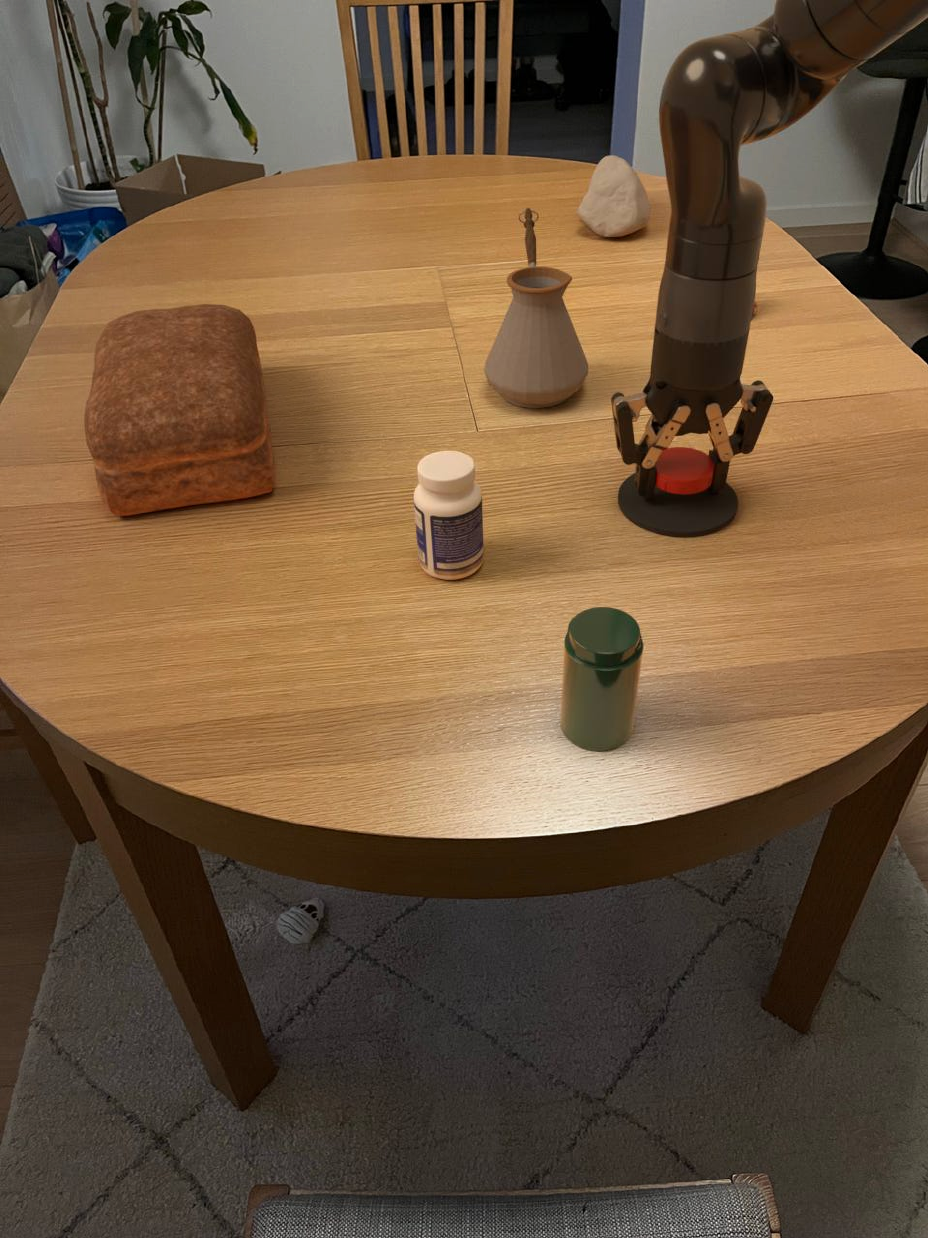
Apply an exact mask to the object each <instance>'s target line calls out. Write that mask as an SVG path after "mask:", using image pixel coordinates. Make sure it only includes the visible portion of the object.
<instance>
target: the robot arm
mask: <svg viewBox="0 0 928 1238" xmlns="http://www.w3.org/2000/svg"><path fill="white" fill-rule="evenodd" d="M774 3H775V4H774V9H773V13H772V14H771V15H770V16H768V17H766V19H763V20H762V21H761V22H759V23H758V24H756V25H754V26H753V27H750V28H746V29H742V30H738V31H733V32H729V33H725V34H724V33H723V34H719V35H714V36H709V37H706V38H701V39H698V40H696V41H694V42H692V43H690V44H689V45H687V46H686V47H685V48H683V49H682V51H681V52H680V53H679V54H678V55H677V56H676V58H675V59H674V60H673V62H672V64H671V66H670V67H669V70H668V72H667V75H666V77H665V80H664V83H663V86H662V90H661V94H660V97H659V98H660V100H659V106H658V108H659V109H658V115H659V116H658V122H659V124H658V125H659V133H660V141H661V148H662V155H663V163H664V170H665V178H666V179H665V180H666V185H667V190H668V197H669V201H670V210H671V211H670V219H669V224H668V225H669V226H668V233H667V241H666V251H665V261H664V266H663V272H662V275H661V278H660V279H661V280H660V284H659V288H658V289H659V290H658V295H657V304H656V315H655V323H654V333H653V343H652V350H651V351H652V353H651V361H650V369H649V371H650V372H649V379H648V381H647V382H646V385H644V388H643V389H642V391H641V392H637V393H633V394H629V395H626V396H625V394H624V393H622V392H620V391H619V392H615V393H613V394H612V396H611V397H610V403H611V410H612V418H613V420H612V421H613V427H614V435H615V443H616V444H615V445H616V448H617V450H618V452H619V454H620V456H621V459H622V462H623V464H625V465H628V466H630V465H633V464H635V472H634V473H635V482H634V484H635V487H636V489H637V491H638V494H639V496H642V497H643V499H644V501H645V502H646V501H653V497H654V489H655V481H656V473H657V468H656V466H655V464H656V462H657V460H658V458H659V457H660V455H661V453H662V452H663V450H664V449H665V450H666V449H667V448H670V446H671V443H672V442H673V440H674V439H675V437H683V436H685V435H688V434H696V435H706V434H708V437H709V440H710V443H711V446H712V450H711V449H709V451H708V454H707V455H708V456H710V458H711V459H712V461H713V463H714V465H715V468H714V475H713V480H712V483H711V485H710V487H708V488H707V489H706V490H707V491H708V493H709V495H718V494H719V489H723V488H724V486H725V485H726V482H728V481H727V480H728V474H729V469H730V463H731V461H732V459H733V458H734V457H735V456H737V455H739V454H743V455H749V454H751V453H752V452H753V451H754V449H755V447H756V445H757V442H758V439H759V438H760V437H759V436H760V434H761V432H762V429H763V427H764V425H765V422H766V419H767V416H768V414H769V412H770V409H771V407H772V404H773V402H774V395H773V394H772V392H771V391H770V390H769V388H768V387H767V386H766V384H765V383H764V382H763V381H762V380H759V379H757V380H755V381H753V382H752V383H751V384H744V383H742V382H741V376H742V374H743V369H744V364H745V358H746V352H747V345H748V342H749V341H748V340H749V335H750V330H751V323H752V321H753V319H754V318H753V317H754V316H755V315H754V302H756V294H757V293H756V292H757V272H758V265H759V259H760V253H761V249H762V242H763V236H764V231H765V224H766V218H767V205H768V204H767V202H768V200H767V195H766V191H765V190H764V189H763V187H762V186H761V185H760V184H759V183H757V182H756V181H754V180H752V179H750V178H747V177H744V176H740V168H739V167H740V166H739V165H740V164H739V163H740V162H739V158H740V149H741V147H742V146H745V145H749V144H752V143H755V142H759V141H762V140H765V139H768V138H771V137H773V136H775V135H777V134H779V133H781V132H783V131H784V130H787V129H788V128H789V127H791V126H792V125H794V124H795V123H797V122H798V121H800V120H801V119H803V118H804V117H805V116H806V115H808V114H809V113H811V111H812V110H814V109H815V107H817V106H818V105H820V103H821V102H822V101H823V100H824V99H825V98H826V97H827V96H828V95H829V94H830V93H831V92H832V91H833V90H834V89H835V88H836V87H837V86H838V85H839V84H840V83H841V82H842V81H843V80H844V79H845V78H846V77H847V76H848V74H849V73H850V72H852V70H855V69H856V68H858V67H859V66H861V65H863V64H864V63H866V62H867V61H869V60H870V59H872V58H873V57H875V56H877V54H879V53H880V52H881V51H883V50H885V49H886V48H887V47H889V46H890V45H892V44H893V43H894V42H895V41H897V40H898V39H900V38H901V37H903V36H904V35H906V34H907V33H908V32H910V31H911V30H913V29H914V28H916V27H917V26H918V25H920V24H921V23H922V22H924V21H925V20H926V19H928V0H775V2H774ZM753 315H754V316H753ZM739 402H740V405H741V406H742V408H741V410H740V413H739V416H738V418H737V421H736V424H735V426H734V429H733V432H732V434H731V435H729V432H728V429H727V426H726V423H725V421H724V418H725V417H726V416H727V415H728V414H729V413H730V412H731V411H732V409H733V408H734V407H736V405H737V404H738V403H739ZM644 408H647V409H648V411H649V412H650V413H651V415H650V417H649V419H648V421H647V422H646V424H645V428H644V433H643V435H642V436H641V438H640V439H639V442H638V443H636V441H635V432H634V431H635V430H634V423H636V422H637V421H638V419H639V418H640V413H641V411H642V409H644Z"/></svg>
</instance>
